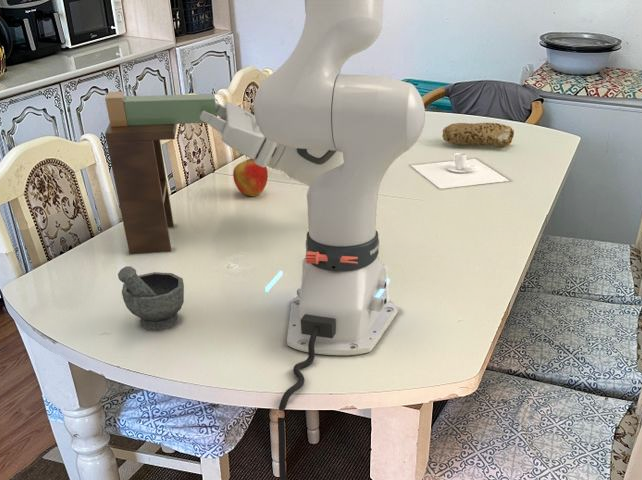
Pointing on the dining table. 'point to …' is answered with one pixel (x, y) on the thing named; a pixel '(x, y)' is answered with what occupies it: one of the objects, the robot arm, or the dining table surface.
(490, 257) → the dining table surface
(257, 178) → the apple
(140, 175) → the rack
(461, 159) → the teacup and saucer
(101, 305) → the dining table surface
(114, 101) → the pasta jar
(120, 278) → the mortar and pestle
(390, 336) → the dining table surface
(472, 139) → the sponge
